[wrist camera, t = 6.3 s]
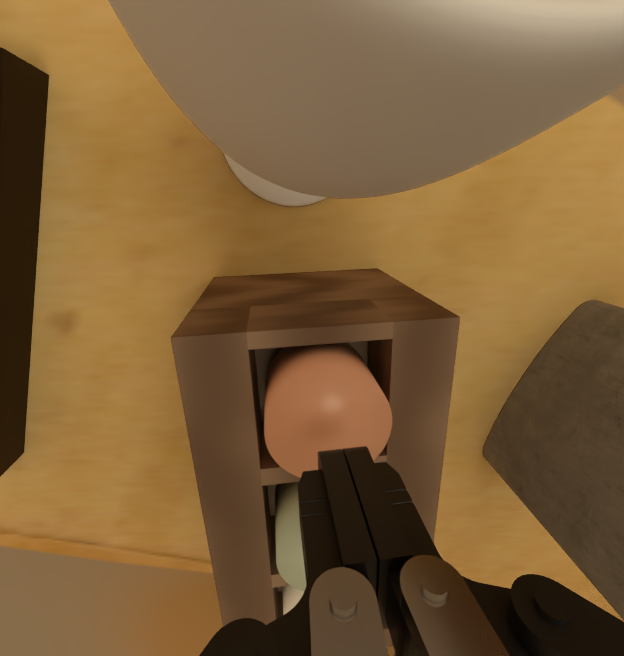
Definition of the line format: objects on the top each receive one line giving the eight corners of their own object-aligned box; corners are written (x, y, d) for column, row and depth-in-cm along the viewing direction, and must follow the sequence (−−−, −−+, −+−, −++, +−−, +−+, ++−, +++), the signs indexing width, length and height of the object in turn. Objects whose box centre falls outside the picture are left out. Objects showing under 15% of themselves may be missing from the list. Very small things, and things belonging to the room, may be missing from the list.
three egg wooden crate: (377, 268, 24) (459, 317, 14) (370, 494, 31) (421, 640, 20) (214, 277, 23) (170, 337, 13) (243, 510, 30) (231, 672, 19)
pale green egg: (365, 450, 18) (387, 506, 15) (363, 521, 19) (383, 585, 16) (271, 460, 17) (272, 520, 14) (277, 532, 19) (279, 600, 16)
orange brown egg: (368, 331, 16) (395, 365, 12) (366, 422, 17) (389, 473, 14) (260, 339, 15) (258, 376, 12) (268, 432, 17) (269, 487, 14)
